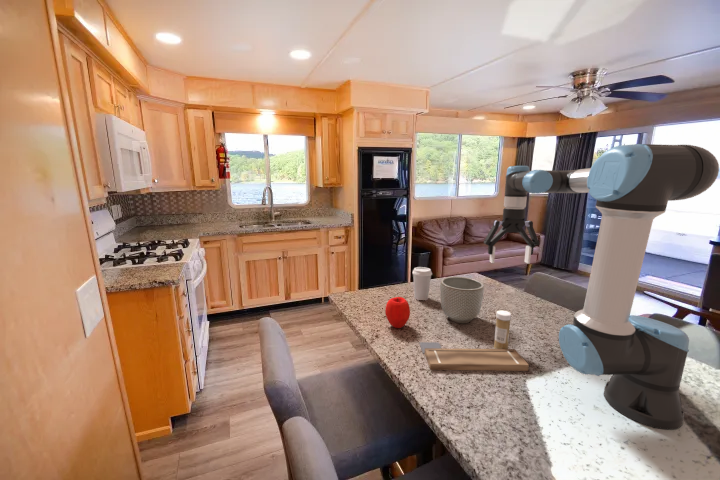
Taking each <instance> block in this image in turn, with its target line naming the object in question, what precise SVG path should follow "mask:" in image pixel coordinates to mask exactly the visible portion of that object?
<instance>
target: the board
mask: <svg viewBox="0 0 720 480" xmlns="http://www.w3.org/2000/svg"><path fill="white" fill-rule="evenodd" d="M424 356H425V359H426V363H427V365H428V367H429V371H497V372H498V371H501V372H502V371H503V372H504V371H505V372H507V371H509V372H510V371H511V372H512V371H513V372H514V371H515V372H516V371H517V372H519V371H520V372H521V371H523V372H525V371H527V372H528V371H529V366H530V365H529V363H528V362H527V361H526V360H525V359H524V358H523V356H521V355H520V353H519V352H518V351H517V349H515V348H508V349H495V348H443V347H441V348H425V354H424Z"/></svg>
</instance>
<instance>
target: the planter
mask: <svg viewBox="0 0 720 480" xmlns="http://www.w3.org/2000/svg"><path fill="white" fill-rule="evenodd" d="M439 292H440V293H439V294H440V295H439V297H440V306H441V310H442V312H443V313H444V315H446V316H447V317H448V319H449V320H450V321H452V322H453V323H457V324H467V323H469V322H471V320H474V319H475V318H477V316H479V315H480V312H481V308H482V306H483V305H482V303H483V301H484V293H485V285H484V283H483V282H481V281H480V280H477V279H474V278H470V277H466V276H449V277H444V278H442V279H440V284H439Z"/></svg>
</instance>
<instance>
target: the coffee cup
mask: <svg viewBox="0 0 720 480" xmlns="http://www.w3.org/2000/svg"><path fill="white" fill-rule="evenodd" d="M432 276H433V272H432V269H431V268H429V267H425V266H424V267H423V266H417V267H414V268H413V269H412V277H413V293H414V295H413V296H414V300H416V299H417V300H416V301H419V300H425V301H428V299H429V293H430V285H431V279H432Z"/></svg>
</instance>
